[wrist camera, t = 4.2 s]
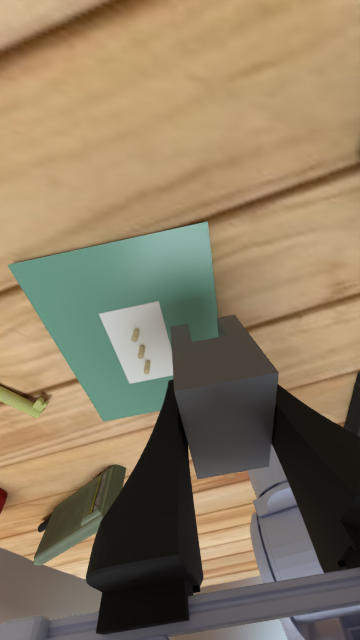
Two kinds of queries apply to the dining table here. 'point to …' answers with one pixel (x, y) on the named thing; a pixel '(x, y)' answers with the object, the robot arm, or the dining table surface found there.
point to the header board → (125, 311)
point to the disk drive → (354, 410)
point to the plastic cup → (2, 499)
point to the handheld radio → (79, 515)
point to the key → (22, 403)
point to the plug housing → (224, 398)
